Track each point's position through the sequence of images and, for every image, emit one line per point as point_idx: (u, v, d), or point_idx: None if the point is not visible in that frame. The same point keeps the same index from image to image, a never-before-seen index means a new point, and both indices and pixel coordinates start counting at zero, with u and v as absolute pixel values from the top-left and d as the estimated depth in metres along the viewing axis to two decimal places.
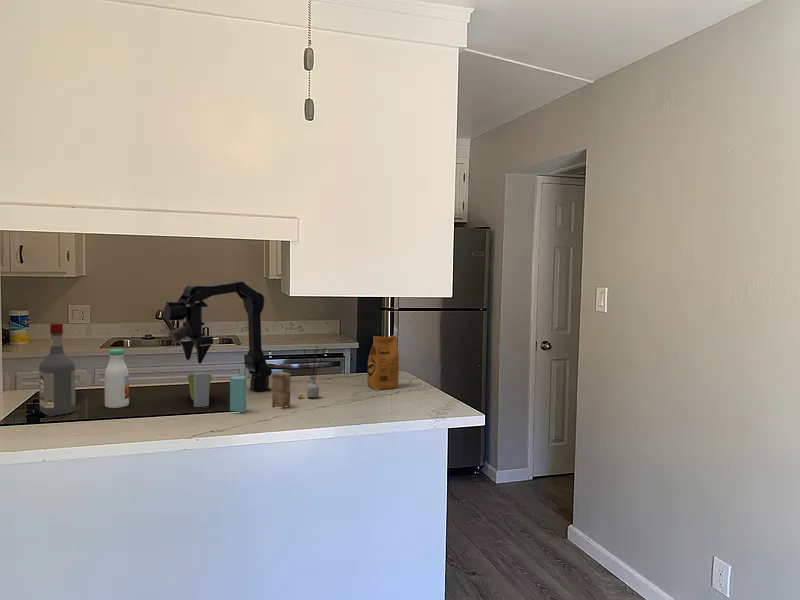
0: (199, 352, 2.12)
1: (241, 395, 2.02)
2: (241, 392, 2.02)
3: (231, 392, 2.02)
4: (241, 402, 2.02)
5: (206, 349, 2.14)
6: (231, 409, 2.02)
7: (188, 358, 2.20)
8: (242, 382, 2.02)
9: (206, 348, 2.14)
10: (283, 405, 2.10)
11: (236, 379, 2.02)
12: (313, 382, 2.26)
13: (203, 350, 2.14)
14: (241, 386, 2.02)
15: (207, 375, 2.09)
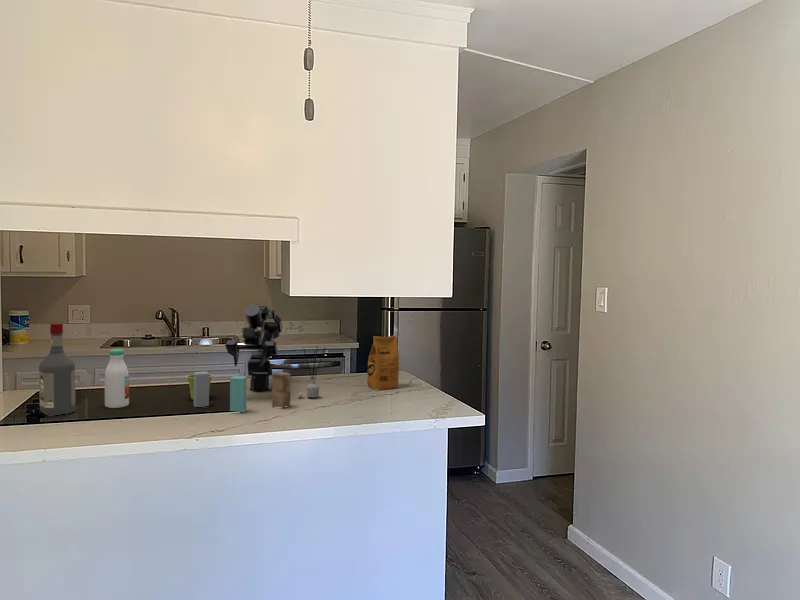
0: (265, 355, 2.20)
1: (241, 395, 2.02)
2: (241, 392, 2.02)
3: (231, 392, 2.02)
4: (241, 402, 2.02)
5: (267, 357, 2.23)
6: (231, 409, 2.02)
7: (236, 364, 2.18)
8: (242, 382, 2.02)
9: (268, 356, 2.23)
10: (283, 405, 2.10)
11: (236, 379, 2.02)
12: (313, 382, 2.26)
13: (266, 356, 2.22)
14: (241, 386, 2.02)
15: (207, 375, 2.09)
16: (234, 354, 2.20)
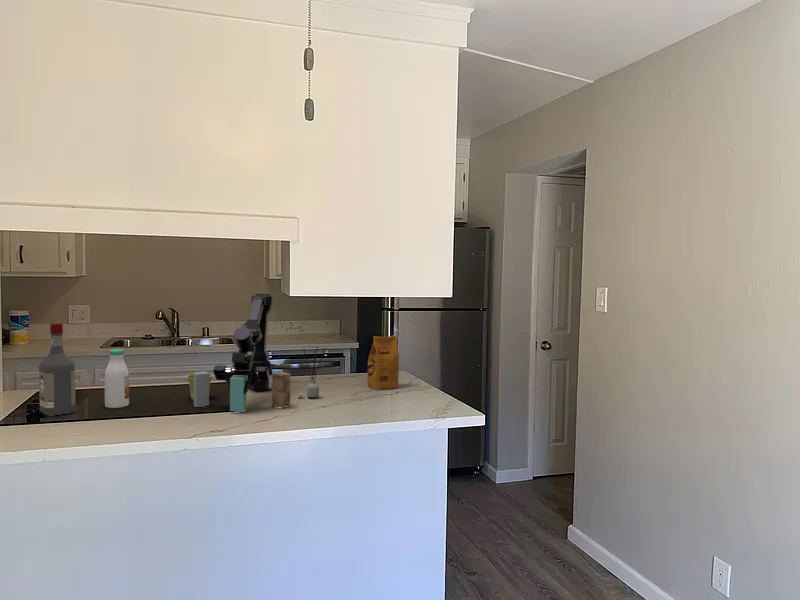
0: (250, 382, 2.05)
1: (241, 395, 2.02)
2: (241, 392, 2.02)
3: (231, 392, 2.02)
4: (241, 402, 2.02)
5: (252, 384, 2.08)
6: (231, 409, 2.02)
7: None
8: (242, 382, 2.02)
9: (253, 383, 2.08)
10: (283, 405, 2.10)
11: (236, 379, 2.02)
12: (313, 382, 2.26)
13: (250, 383, 2.07)
14: (241, 386, 2.02)
15: (207, 375, 2.09)
16: (229, 381, 2.05)
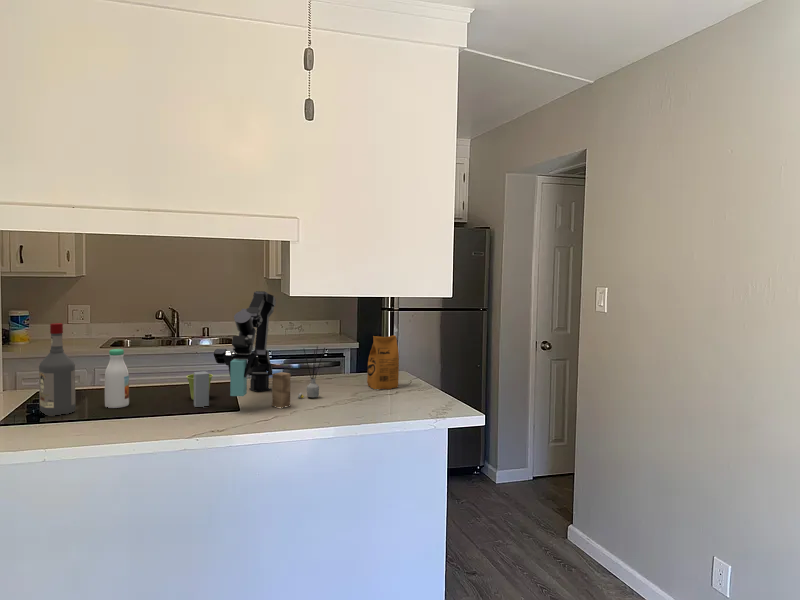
0: (250, 365, 2.05)
1: (241, 378, 2.02)
2: (242, 375, 2.02)
3: (231, 375, 2.02)
4: (241, 385, 2.02)
5: (253, 367, 2.08)
6: (231, 392, 2.02)
7: None
8: (242, 365, 2.02)
9: (253, 366, 2.08)
10: (283, 405, 2.10)
11: (236, 362, 2.02)
12: (313, 382, 2.26)
13: (251, 366, 2.07)
14: (241, 369, 2.02)
15: (207, 375, 2.09)
16: (229, 364, 2.05)
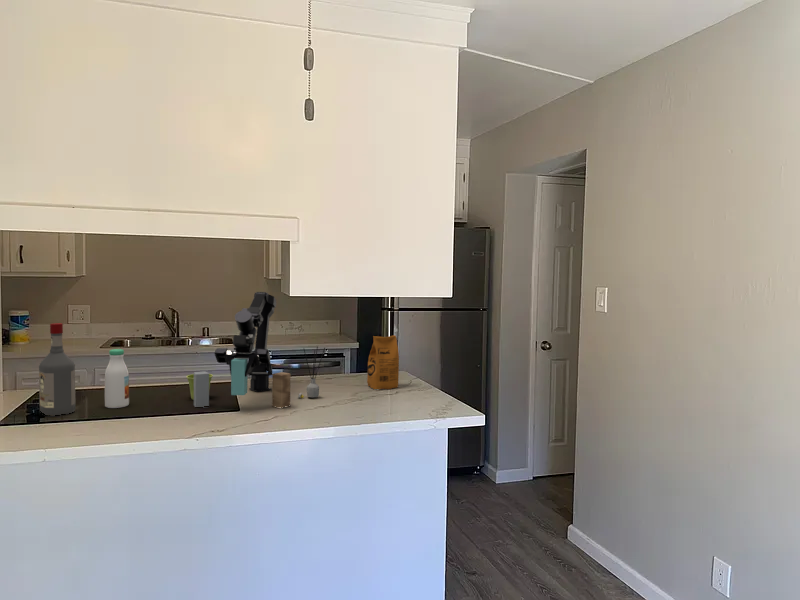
0: (251, 364, 2.06)
1: (242, 377, 2.03)
2: (243, 375, 2.03)
3: (232, 374, 2.03)
4: (242, 384, 2.03)
5: (253, 366, 2.09)
6: (232, 391, 2.03)
7: None
8: (243, 364, 2.03)
9: (254, 365, 2.09)
10: (283, 405, 2.10)
11: (237, 361, 2.03)
12: (313, 382, 2.26)
13: (251, 365, 2.08)
14: (242, 368, 2.03)
15: (207, 375, 2.09)
16: (230, 363, 2.06)
